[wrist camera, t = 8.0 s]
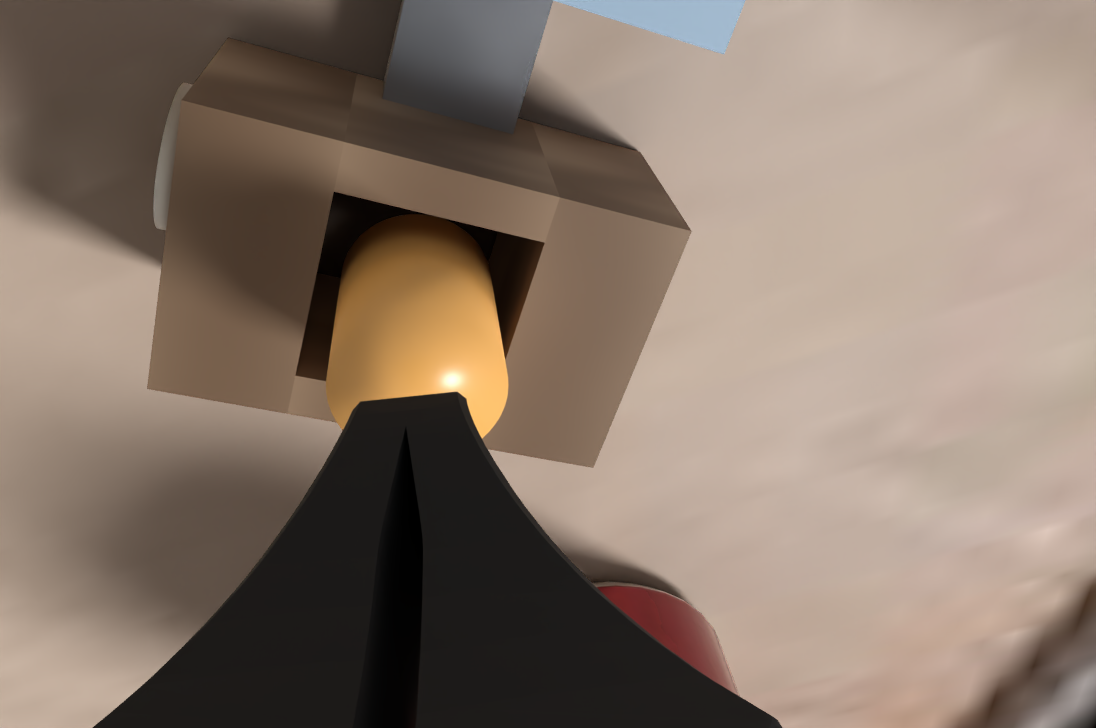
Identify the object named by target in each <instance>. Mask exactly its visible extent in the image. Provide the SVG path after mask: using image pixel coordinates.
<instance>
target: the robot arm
mask: <svg viewBox="0 0 1096 728" xmlns="http://www.w3.org/2000/svg"><path fill="white" fill-rule="evenodd" d="M93 728H782V726H781V725H780V723H779V722H778V720H777V719H775V718H774V717H772V716H771V715H769V714H767V713H766V712H764V711H762V710H761V709H759V708H758V707H756V706H754V705H753V704H751V703H749V702H748V701H746V700H744V699H743V698H741V697H739V696H738V695H736V694H734V693H733V692H731V691H730V690H728V689H726V688H725V687H723V686H721V685H720V684H718V683H716V682H715V681H713V680H711V679H710V678H708V677H707V676H705V675H704V674H703V673H701V672H700V671H698V670H697V669H696V668H694V667H693V666H692V665H690V664H689V663H687V662H686V661H685V660H683V659H682V658H680V657H679V656H678V655H676V654H675V653H674V652H672V651H671V650H669V649H668V648H667V647H665V646H664V645H663V644H662V643H661V642H659V641H658V640H657V639H656V638H654V637H653V636H652V635H651V634H650V633H648V632H647V631H646V630H645V629H644V628H642V627H641V626H640V625H639V624H638V623H636V622H635V621H634V620H633V619H632V618H630V617H629V616H628V615H627V614H626V613H624V612H623V611H622V610H621V609H620V608H618V607H617V606H616V605H615V604H614V603H613V602H611V601H610V600H609V599H608V598H607V597H606V596H605V595H604V594H603V593H602V592H601V591H600V590H599V589H598V588H597V587H596V586H595V585H594V584H593V583H592V582H591V581H590V580H588V579H587V578H586V577H585V576H584V575H583V574H582V573H581V571H580V570H579V569H578V568H577V567H576V566H575V565H574V564H573V563H572V562H571V561H570V560H569V559H568V558H567V557H566V556H565V555H564V553H563V552H562V551H561V550H560V549H559V548H558V547H557V546H556V544H555V543H554V542H553V541H552V540H551V539H550V537H549V536H548V535H547V534H546V533H545V531H544V530H543V529H542V528H541V526H540V525H539V524H538V523H537V521H536V520H535V519H534V517H533V516H532V515H531V514H530V512H529V511H528V510H527V509H526V507H525V506H524V504H523V503H522V502H521V500H520V499H519V498H518V496H517V495H516V493H515V492H514V491H513V489H512V488H511V486H510V484H509V483H508V481H507V480H506V478H505V477H504V475H503V474H502V472H501V471H500V469H499V468H498V466H497V464H496V463H495V461H494V460H493V458H492V456H491V455H490V453H489V451H488V449H487V448H486V446H485V444H484V442H483V440H482V438H481V436H480V434H479V432H478V430H477V428H476V426H475V424H474V421H473V419H472V416H471V414H470V411H469V408H468V404H467V399H466V398H465V397H464V396H462V395H461V394H460V393H458V392H447V393H437V394H428V395H418V396H408V397H399V398H389V399H379V400H370V401H360V402H359V404H358V405H357V406H356V407H355V408H354V409H353V410H352V412H351V415H350V417H349V419H348V421H347V423H346V425H345V427H344V429H343V431H342V433H341V435H340V437H339V439H338V441H337V443H336V444H335V446H334V448H333V450H332V452H331V453H330V455H329V457H328V459H327V461H326V462H325V464H324V466H323V468H322V469H321V471H320V472H319V474H318V476H317V477H316V479H315V480H314V482H313V484H312V485H311V487H310V488H309V490H308V492H307V493H306V495H305V496H304V498H303V500H302V501H301V503H300V504H299V506H298V507H297V509H296V510H295V512H294V513H293V515H292V516H291V518H290V519H289V521H288V522H287V523H286V525H285V526H284V527H283V529H282V530H281V532H280V533H279V534H278V536H277V537H276V539H275V540H274V541H273V543H272V544H271V545H270V547H269V548H268V550H267V551H266V552H265V554H264V555H263V557H262V558H261V559H260V560H259V562H258V563H257V564H256V565H255V567H254V568H253V569H252V570H251V572H250V573H249V574H248V576H247V577H246V578H245V579H244V580H243V582H242V583H241V584H240V585H239V586H238V588H237V589H236V590H235V591H234V592H233V593H232V595H231V596H230V597H229V598H228V599H227V600H226V601H225V603H224V604H223V605H222V606H221V607H220V608H219V609H218V611H217V612H216V613H215V614H214V615H213V616H212V617H211V618H210V619H209V620H208V622H207V623H206V624H205V625H204V626H203V627H202V628H201V629H200V630H199V631H198V632H197V633H196V634H195V635H194V636H193V637H192V638H191V639H190V640H189V641H188V642H187V643H186V644H185V645H184V646H183V647H182V648H181V649H180V650H179V651H178V652H177V653H176V654H175V655H174V656H173V657H172V658H171V659H170V660H169V661H168V662H167V663H166V664H165V665H164V666H163V667H162V668H161V669H160V670H159V671H158V672H157V673H156V674H154V675H153V676H152V677H151V678H150V679H149V680H148V681H147V682H146V683H145V684H144V685H142V686H141V687H140V688H139V689H138V690H137V691H135V692H134V693H133V694H132V695H131V696H130V697H129V698H127V699H126V700H125V701H124V702H123V703H122V704H120V705H119V706H118V707H117V708H116V709H115V710H113V711H112V712H111V713H110V714H109V715H107V716H106V717H105V718H104V719H103V720H101V721H100V722H99V723H98V724H96V725H95V726H94V727H93Z"/></svg>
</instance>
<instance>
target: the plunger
mask: <svg viewBox="0 0 1096 728" xmlns="http://www.w3.org/2000/svg"><path fill="white" fill-rule="evenodd" d="M508 387H509V386H508V374H507V368H506V362H505V356H504V350H503V344H502V338H501V333H500V327H499V321H498V315H497V309H496V303H495V297H494V291H493V286H492V280H491V274H490V269H489V265H488V262H487V259H486V257H485V255H484V253H483V251H482V249H481V248H480V246H479V245H478V243H477V242H476V241H475V240H474V239H473V238H472V237H471V236H470V235H469V234H468V233H467V232H466V231H464V230H463V229H462V228H460V227H459V226H457V225H455V224H454V223H451V222H449V221H447V220H445V219H442V218H438V217H435V216H430V215H422V214H408V215H401V216H395V217H392V218H389V219H386V220H383V221H381V222H379V223H377V224H375V225H374V226H372V227H370V228H369V229H367V230H366V231H365V232H364V233H363V234H362V235H360V236H359V238H358V239H357V240H356V241H355V242H354V243H353V245H352V246H351V248H350V249H349V251H348V253H347V255H346V257H345V260H344V263H343V267H342V273H341V280H340V287H339V294H338V301H337V308H336V315H335V322H334V329H333V336H332V343H331V350H330V357H329V364H328V371H327V378H326V395H327V400H328V404H329V407H330V410H331V413H332V414H333V416H334V418H335V420H336V422H337V423H338V425H339V426H340V427H341V429H342V430H343V429H344V427H345V425H346V423H347V421H348V419H349V417H350V415H351V412H352V410H353V409H354V408H355V407H356V406H357V405H358V404H359V402H360V401H370V400H379V399H389V398H399V397H408V396H418V395H428V394H437V393H447V392H458V393H460V394H461V395H462V396H464V397H465V398H466V399H467V404H468V408H469V411H470V414H471V416H472V419H473V421H474V424H475V426H476V428H477V430H478V432H479V434H480V436H481V438H483V437H484V436H485V435H486V434H487V433H488V432H489V431H490V430H491V429H492V428H493V427H494V425H495V424H496V423H497V421H498V419H499V418H500V416H501V414H502V412H503V409H504V407H505V404H506V400H507V396H508Z"/></svg>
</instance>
